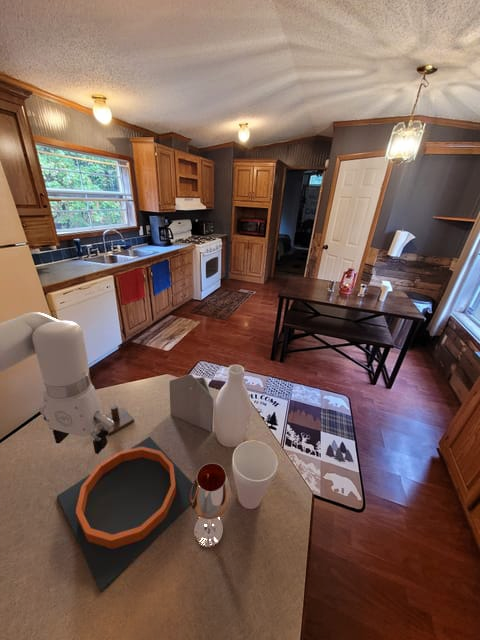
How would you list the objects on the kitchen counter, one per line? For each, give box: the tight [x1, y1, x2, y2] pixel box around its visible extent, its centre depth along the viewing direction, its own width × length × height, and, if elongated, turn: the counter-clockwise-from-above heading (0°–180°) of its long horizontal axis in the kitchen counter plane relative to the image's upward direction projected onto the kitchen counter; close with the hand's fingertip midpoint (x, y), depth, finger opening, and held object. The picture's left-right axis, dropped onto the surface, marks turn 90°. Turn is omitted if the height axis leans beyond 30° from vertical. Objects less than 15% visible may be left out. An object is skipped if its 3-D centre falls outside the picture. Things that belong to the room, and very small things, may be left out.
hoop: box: [76, 447, 176, 549], centre depth 61 cm, size 21×21×3 cm
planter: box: [168, 373, 215, 433], centre depth 83 cm, size 16×8×19 cm, turn 65°
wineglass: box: [190, 462, 232, 548], centre depth 52 cm, size 8×8×18 cm
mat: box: [56, 436, 193, 593], centre depth 61 cm, size 24×24×1 cm
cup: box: [231, 439, 279, 510], centre depth 61 cm, size 10×10×14 cm
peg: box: [103, 404, 135, 436], centre depth 80 cm, size 8×8×6 cm
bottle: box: [213, 364, 252, 448], centre depth 75 cm, size 11×11×25 cm
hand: (82, 443), depth 57 cm, fingers open, 9 cm apart
